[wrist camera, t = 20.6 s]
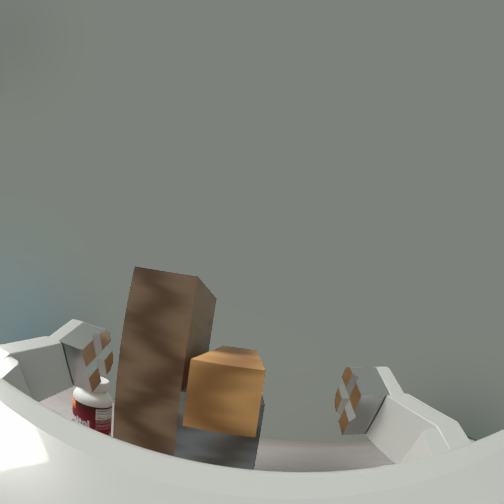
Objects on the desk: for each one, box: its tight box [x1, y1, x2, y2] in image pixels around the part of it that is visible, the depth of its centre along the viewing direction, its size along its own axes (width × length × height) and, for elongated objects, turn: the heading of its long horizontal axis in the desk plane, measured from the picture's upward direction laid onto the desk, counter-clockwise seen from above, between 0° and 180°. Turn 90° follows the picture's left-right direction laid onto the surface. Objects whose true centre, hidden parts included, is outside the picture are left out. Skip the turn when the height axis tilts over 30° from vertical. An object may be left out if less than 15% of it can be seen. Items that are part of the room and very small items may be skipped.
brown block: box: [183, 346, 265, 437], centre depth 23 cm, size 4×20×4 cm, turn 1°
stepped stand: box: [113, 267, 265, 470], centre depth 26 cm, size 13×14×26 cm
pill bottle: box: [73, 377, 112, 436], centre depth 30 cm, size 6×6×11 cm
